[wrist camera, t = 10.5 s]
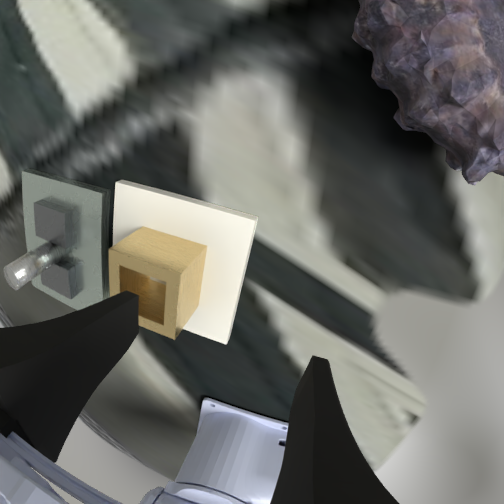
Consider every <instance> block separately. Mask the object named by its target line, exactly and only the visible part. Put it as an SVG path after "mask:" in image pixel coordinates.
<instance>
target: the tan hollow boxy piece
mask: <svg viewBox="0 0 504 504" xmlns="http://www.w3.org/2000/svg"><path fill="white" fill-rule="evenodd" d="M206 252H207V246H206V245H203V244H200V243H196V242H193V241H190V240H186V239H183V238H180V237H177V236H173V235H170V234H167V233H164V232H160V231H157V230H154V229H150V228H147V227H144V226H143V227H141V228H140V229H138V230H136V231H135V232H133V233H132V234H130V235H129V236H127V237H126V238H124V239H123V240H121V241H120V242H118V243H117V244H115V245H114V246H112V247H111V248H109V285H110V297H111V296H114V295H116V294H119V293H121V292H124V291H126V290H127V291H129V292H132V293H134V294H137V295H139V325H140V326H142V327H145V328H147V329H149V330H152V331H154V332H157V333H159V334H162V335H164V336H167V337H169V338H172V339H174V340H175V339H176V337H177V336H178V334H179V333H180V332H181V330H182V329H183V327H184V326H185V324H186V323H187V322H188V320H189V319H190V317H191V316H192V314H193V313H194V312H195V310H196V309H197V307H198V306H199V299H200V292H201V285H202V278H203V271H204V265H205V258H206ZM150 276H151V277H153V278H156V279H159V280H162V281H165V282H166V285H165V284H162V283H159V282H156V281H154V280H151V279H150Z"/></svg>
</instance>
